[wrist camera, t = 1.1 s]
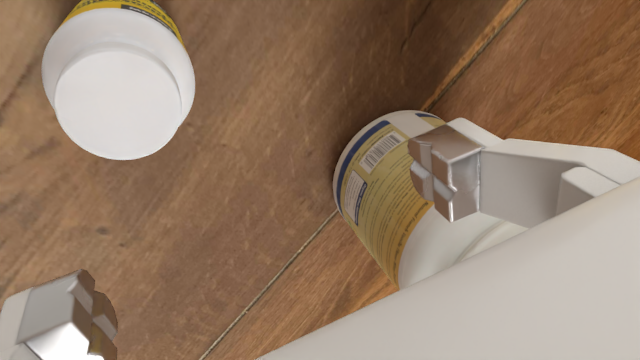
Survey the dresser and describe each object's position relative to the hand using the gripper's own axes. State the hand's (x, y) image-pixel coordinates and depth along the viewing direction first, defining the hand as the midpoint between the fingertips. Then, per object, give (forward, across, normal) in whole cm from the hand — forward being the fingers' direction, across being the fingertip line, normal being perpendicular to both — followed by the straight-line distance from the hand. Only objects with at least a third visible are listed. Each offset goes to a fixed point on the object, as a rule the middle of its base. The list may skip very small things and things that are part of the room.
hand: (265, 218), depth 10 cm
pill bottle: (+21, +3, -1) cm, 22 cm away
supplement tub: (+21, -13, +16) cm, 30 cm away
